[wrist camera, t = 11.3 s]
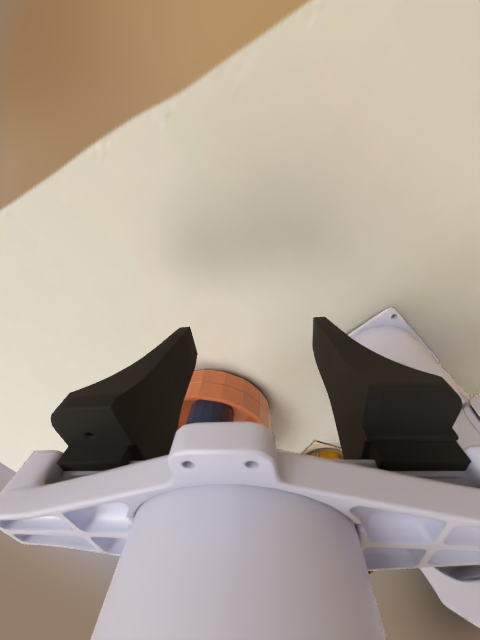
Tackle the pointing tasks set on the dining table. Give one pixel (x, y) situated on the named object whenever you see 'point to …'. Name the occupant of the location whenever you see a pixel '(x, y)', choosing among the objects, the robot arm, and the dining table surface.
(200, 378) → the clay bowl
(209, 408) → the cup
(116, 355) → the dining table surface
